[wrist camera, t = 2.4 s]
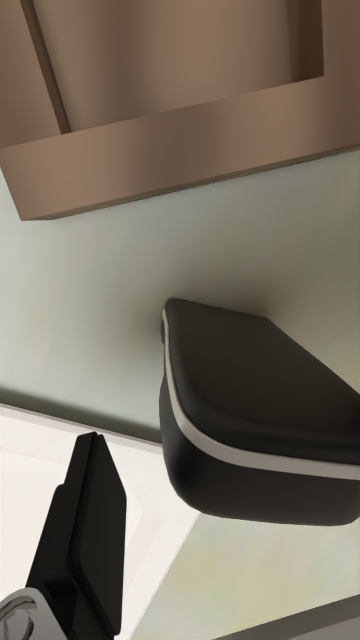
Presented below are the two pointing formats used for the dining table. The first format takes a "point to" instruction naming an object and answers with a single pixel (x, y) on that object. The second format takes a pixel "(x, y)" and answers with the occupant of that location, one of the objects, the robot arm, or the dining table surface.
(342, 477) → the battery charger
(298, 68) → the wooden sorting tray
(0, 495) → the plate
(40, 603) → the robot arm
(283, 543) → the dining table surface
